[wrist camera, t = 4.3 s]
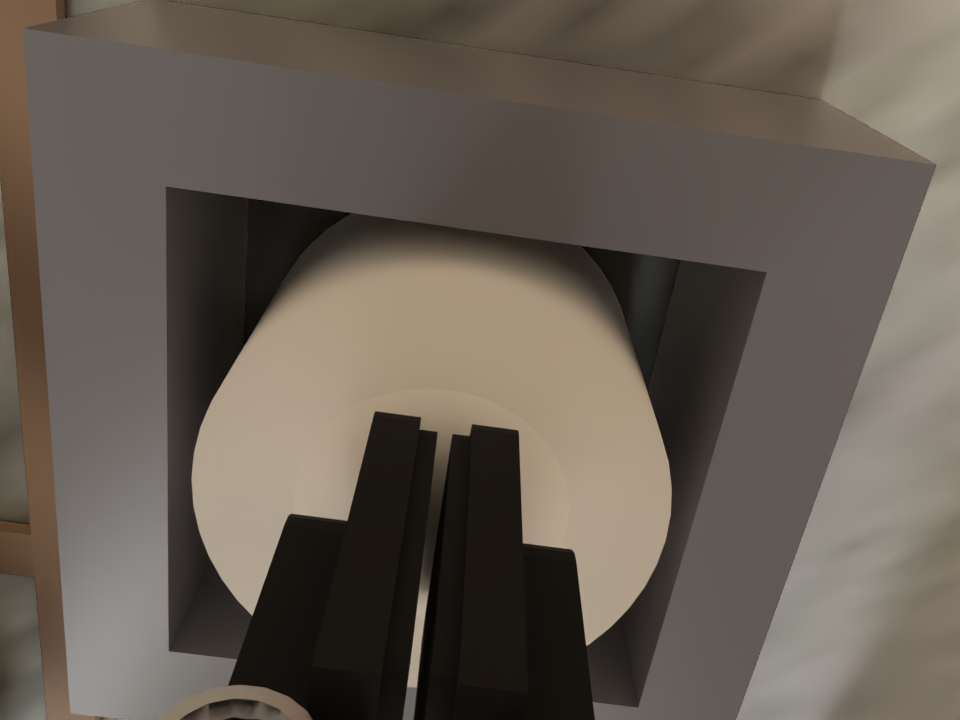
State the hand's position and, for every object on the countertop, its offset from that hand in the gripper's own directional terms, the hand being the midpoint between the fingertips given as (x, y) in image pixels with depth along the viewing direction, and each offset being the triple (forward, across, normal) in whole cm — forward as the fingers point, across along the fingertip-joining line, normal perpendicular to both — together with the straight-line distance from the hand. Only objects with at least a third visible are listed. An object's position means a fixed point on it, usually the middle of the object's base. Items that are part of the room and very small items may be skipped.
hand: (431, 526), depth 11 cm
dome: (+5, 0, 0) cm, 5 cm away
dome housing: (+5, 0, 0) cm, 5 cm away
